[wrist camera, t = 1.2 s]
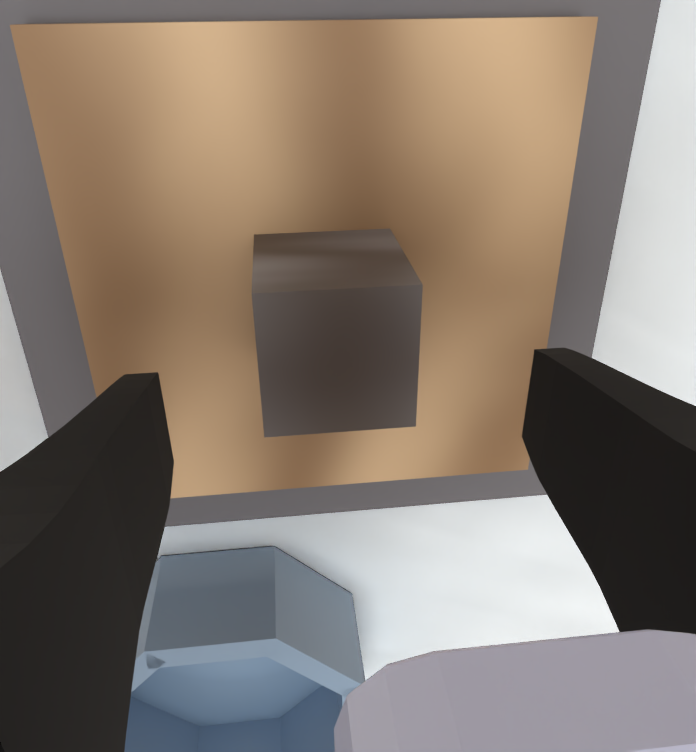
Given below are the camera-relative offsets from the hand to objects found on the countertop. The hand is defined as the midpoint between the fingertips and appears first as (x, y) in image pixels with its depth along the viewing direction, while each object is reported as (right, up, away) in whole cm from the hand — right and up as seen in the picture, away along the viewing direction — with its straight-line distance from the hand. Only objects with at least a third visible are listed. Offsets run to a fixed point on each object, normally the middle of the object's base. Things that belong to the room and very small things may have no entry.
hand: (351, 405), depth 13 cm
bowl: (-5, -10, +13) cm, 17 cm away
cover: (-1, +3, +6) cm, 7 cm away
